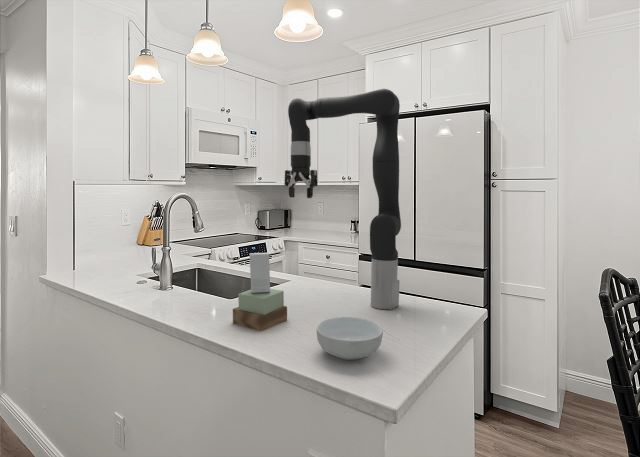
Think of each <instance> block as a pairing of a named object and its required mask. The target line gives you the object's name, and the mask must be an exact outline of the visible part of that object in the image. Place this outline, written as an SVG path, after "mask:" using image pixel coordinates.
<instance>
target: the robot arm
mask: <svg viewBox="0 0 640 457" xmlns="http://www.w3.org/2000/svg"><path fill="white" fill-rule="evenodd" d="M400 106H401V105H400V99H399V98H398V96H397V95H396V94H395V93H394V92H393V91H392V90H390V89H389V88H379V89H376V90H371V91H367V92H364V93H359V94H353V95H344V96H330V97H319V98H317V99H315V100H312V101H311V100H310V101H307V100H304V99H302V98H300V97H298V98H297V97H296V98H292V100H290V102H289V105H288V108H287V114H288V120H289V125H290V126H289V127H290V129H291V130H290V131H291V133H290V134H291V137H290V138H291V140H290V141H291V144H290V167H291V170H289V169H287V170H284V183H283V184H284V186H285V187H288V196H289V198H295V196H296V195H295V194H296V193H295V192H296V191H295V190H296V189H295V186H296V184H297V183H298V182H299V183H301V182H303V183H304V184H305V185H306V187H307V188H306V198H307V199H312V198H313V195H314V188H315V187H317V186H318V185H319V184H318V170H317V169H310V168H311V165H312V162H311V160H312V158H311V156H312V155H311V154H312V153H311V152H312V151H311V150H312V149H311V129H310V127H309V126H308V124H307V121H312V120H316V119H329V118H330V119H331V118H339V117H341V118H342V117H345V116H348V115H353V114H368V115H375V119H376V120H375V121H376V138H375V143H374V148H373V153H372V178H373V183H374V187H375V190H376V194H377V199H378V214H377V215H376V216H374V217H373V218H372V220H371V222H370V224H369V249H370V253H371V267H370V268H371V269H370V270H371V272H370V273H371V274H370V306H371V307H373V308H375V309H380V310H390V311H391V310H393V309H395V308H397V307H398V306H400V280H399V279H398V267H399V266H398V265H399V251H398V250H397V245H396V244H397V243H396V242H397V241H396V240H397V238H396V236H398V235H399V234H400V231H401V230H402V219H401V213H400V212H401V211H400V201H399V195H400V194H399V192H400V154H399V153H400V149H399V138H398V130H399V128H398V126H399V118H400V116H399V115H400V108H401V107H400Z"/></svg>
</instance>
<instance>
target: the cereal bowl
mask: <svg viewBox="0 0 640 457" xmlns="http://www.w3.org/2000/svg"><path fill="white" fill-rule="evenodd" d="M383 334H384V330H383V328H382V326H381V325H380V324H378V323H377V322H374V321H373V320H371V319H367V318H362V317H357V316H337V317H331V318H328V319H324V320H322V321H320V322H319V323H318V324H317V326H316V338H317V339H316V340H317V341H318V344H319V346H320V347H321V349H323V350H324V351H325V352H326V353H328V354H330V355H332V356H334V357H336V358H339V359H341V360H347V361H351V360H353V361H354V359H355V360H359V359H361V358H362V359H363V358H365V357H368V356H370V355H372V354H374V353H375V352H377V350H379V348H380V347H381V344H382V341H383Z"/></svg>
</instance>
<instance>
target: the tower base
mask: <svg viewBox="0 0 640 457" xmlns="http://www.w3.org/2000/svg"><path fill="white" fill-rule="evenodd" d="M287 321H288V306H286V305H284V306H283V307H281V308H278V309H276V310H274V311H272V312H270V313H267V314H265V315H263V314H258V313H253V312H248V311H243V310H239V306H237V307H234V308H232V324H235V325H239V326H242V327H244V328H248V329H251V330H255V331H258V332H262V331H265V330H268V329H271V328H273V327H275V326H277V325H279V324H282V323H284V322H285V323H286V322H287Z"/></svg>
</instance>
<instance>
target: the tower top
mask: <svg viewBox="0 0 640 457" xmlns="http://www.w3.org/2000/svg"><path fill="white" fill-rule="evenodd" d="M284 291H285V290H280V289H274V288H270V292H260V293H251V289H248V290H245V291H243V292H240V293H238V297H237V298H238V307H239V310H243V311H248V312H253V313H258V314H263V315H265V314H267V313H270V312H272V311H274V310H276V309H278V308H281V307H283V306H285V305H284V304H285V300H284V297H285V296H284Z"/></svg>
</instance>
